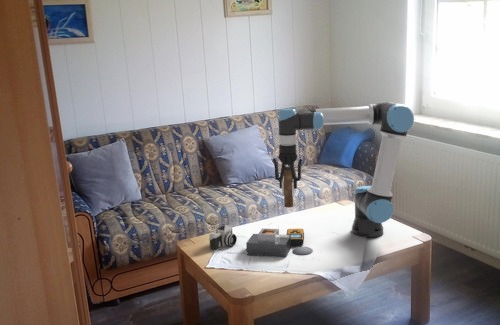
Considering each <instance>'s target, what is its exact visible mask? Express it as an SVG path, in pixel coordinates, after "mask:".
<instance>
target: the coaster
mask: <svg viewBox="0 0 500 325" xmlns="http://www.w3.org/2000/svg"><path fill="white" fill-rule="evenodd" d="M313 252H314V250H313V248H311V247H308V246H298V247H297V246H296V247H295V248H294V249H292V253H293V254H295V255H296V256H297V255H299V256H306V255H311V254H312V253H313Z"/></svg>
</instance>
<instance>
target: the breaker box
mask: <svg viewBox="0 0 500 325" xmlns="http://www.w3.org/2000/svg"><path fill="white" fill-rule="evenodd" d="M266 232H272V233H273V234H264V233H266ZM245 244H246V256H253V257H270V258H271V257H273V258H287V257H288V255H289V253H290V251H291V249H292V246H291V235H287V234H280V229H279V228H260V231H259V232H258V233H252V235H251V236H250V237H249V238H248V240H247V241H246V243H245Z"/></svg>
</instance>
